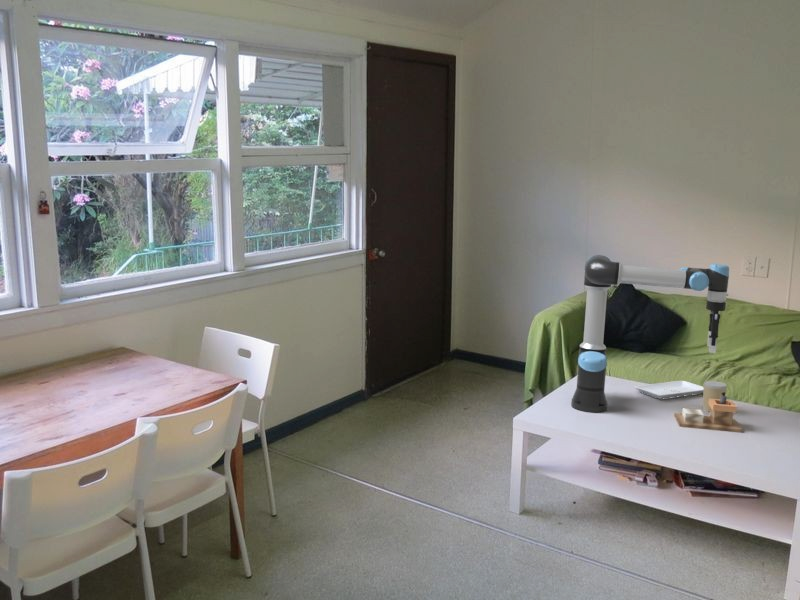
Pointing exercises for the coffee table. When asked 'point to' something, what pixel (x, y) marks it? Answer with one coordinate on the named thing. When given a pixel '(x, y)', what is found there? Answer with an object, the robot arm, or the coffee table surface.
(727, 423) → the stand
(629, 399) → the coffee table surface
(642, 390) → the tray
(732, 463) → the coffee table surface
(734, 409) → the square frame
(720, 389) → the coffee cup
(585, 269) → the robot arm
